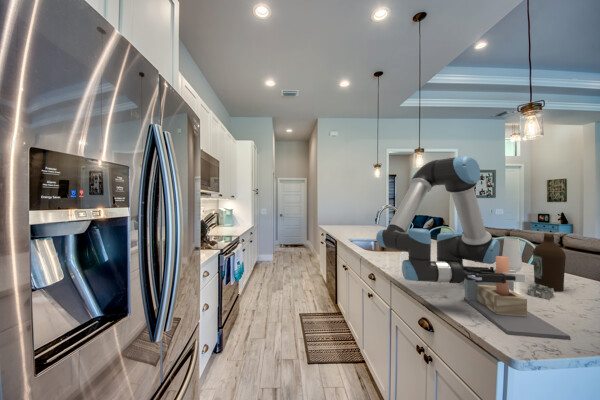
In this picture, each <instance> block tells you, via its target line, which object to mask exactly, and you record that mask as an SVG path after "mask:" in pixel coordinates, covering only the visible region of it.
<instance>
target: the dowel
mask: <svg viewBox="0 0 600 400" xmlns="http://www.w3.org/2000/svg"><path fill="white" fill-rule="evenodd" d="M495 269H496V273H509V258H508V257H504V256H502V255H498V256H496V262H495ZM496 293H497V294H499V295H500V296H509V281H506V283H505V284H503V283H496Z"/></svg>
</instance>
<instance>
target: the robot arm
mask: <svg viewBox="0 0 600 400" xmlns="http://www.w3.org/2000/svg"><path fill="white" fill-rule="evenodd" d="M480 180H481V167H480V165H479V163H478V161H477V160H476V159H475V158H474V157H472V156H471V155H470V156H469V155H465V156H462V155H461V156H455V157H448V158H442V159H434V160H431V161H428V162H427V163H425V164H423V166H421V167H420V168H419V169H418V170H417V171H416V172H415V173H414V174H413V176H412V178H411V180H410V181H409V185H410V186H409V187H408V190H407V192H406V194H404V197H403V199H402V201H401V202H400V204H399V206H398V207H397V210H396V212H395V213H394V214H393V217H392V219H391V220H390V222H389V224H388V226H387V227H386V229H380V230H378V231H377V233H376V235H375V236H376V237H375V238H376V240H375V241H376V243H377V245H378V246H380V247H382V248H385V249H391V250H396V251H400V252H406V253H408V259H404V260H403V261H402V262H401V272H402V276H403V278H404V279H405V280H406V281H407V280H408V281H413V282H425V283H426V282H429V283H431V282H432V283H437V284H439V285H440V284H441V283H445V284H446V283H449V284H457V285H458V284H462V282H464V279H466V280H475V282H477V283H478V282H492V283H503V284H505V283H506V281H512V282H515V283H517V282H518V283H525V282H526V281H525V280H526V274H525V273H518V272H516V271H515V270H509V273H496V268H495V267H494V266H490V267H483V266H468V265H467V266H466V265H464V261H465V260H466V261H471V262H475V263H480V264H488V265H493V264H496V256H500V252H501V251H500V250H501V243H500V241H499V240H498V239H496V238H493V237H492V234H491V233H490V232H489V231H487V230H486V226H485V224H484V223H485V222H484V219H483V215H482V213H481V209H480V205H479V202H478V198H477V195H476V192H475V187H476V186H477V185H478V184H477V183H478V182H479V181H480ZM435 186H444V187H445V190H446V192H447V193H450V194H451V196H452V201H453V203H454V206H455V209H456V214H457V216H458V220H459V223H460V226H461V229H462V232H441V233H438V234H437V236H436V260H434V261H433V260H431V258H432V257H431V255H432V254H431V252H432V250H431V249H432V240H431V239H432V237H431V231H430V230H429V229H426V228H410V229H409V227H410V226H411V224H412V223H413V220H414V218H415V215H416V214H417V212H418V210H419V208H420V207H421V204H422V202H423V201H424V198H425V197H426V195H427V193H429V192H431V190H432V189H433V187H435ZM407 231H408V232H407ZM494 268H495V269H494Z"/></svg>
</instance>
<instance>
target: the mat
mask: <svg viewBox="0 0 600 400" xmlns="http://www.w3.org/2000/svg"><path fill="white" fill-rule="evenodd" d="M463 301H464V302H465V303H467V304H468V305H470V306H471V307H472V308H474V309H475V310H476V311H478V312H479V314H481V315H483V316H484V317H485V318H486V319H487V320H489V321H490V322H491V323H492V324H494V325H495V326H496V327H497V328H499V329H500V330H502V331H503V332H504V333H505V334H507V335H513V336H524V337H525V336H526V337H536V338H547V339H559V340H571V336H570V335H569V334H568V333H566V332H564V331H562V330H561V329H559V328H557V327H556V326H554V325H552V324H550V323H549V322H547V321H545V320H544V319H542V318H540V317H539V316H537V315H535V314H533V313H531V312H530V311H529V310H527V317H525V316H512V315H498V314H496V313H494V312H493V311H491V310H490V309H489V308H487V307H486V306H485V305H483V304H482V303H480V302H479V301H477V300H467V299H466V298H464V297H463Z"/></svg>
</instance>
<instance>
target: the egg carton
mask: <svg viewBox="0 0 600 400" xmlns="http://www.w3.org/2000/svg"><path fill="white" fill-rule="evenodd" d="M525 287H526V290H527V293H526V294H527V295H529V296H531V297H539V298H541V299H543V300H551V299H550V298H552V297H553V296H554V292H555V291H554V289H553V288H551V289H550V288H548V286H543V285H540V284H539V285H538V284H535V283H534V282H531V283H530V284H528V285H526V286H525Z"/></svg>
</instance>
